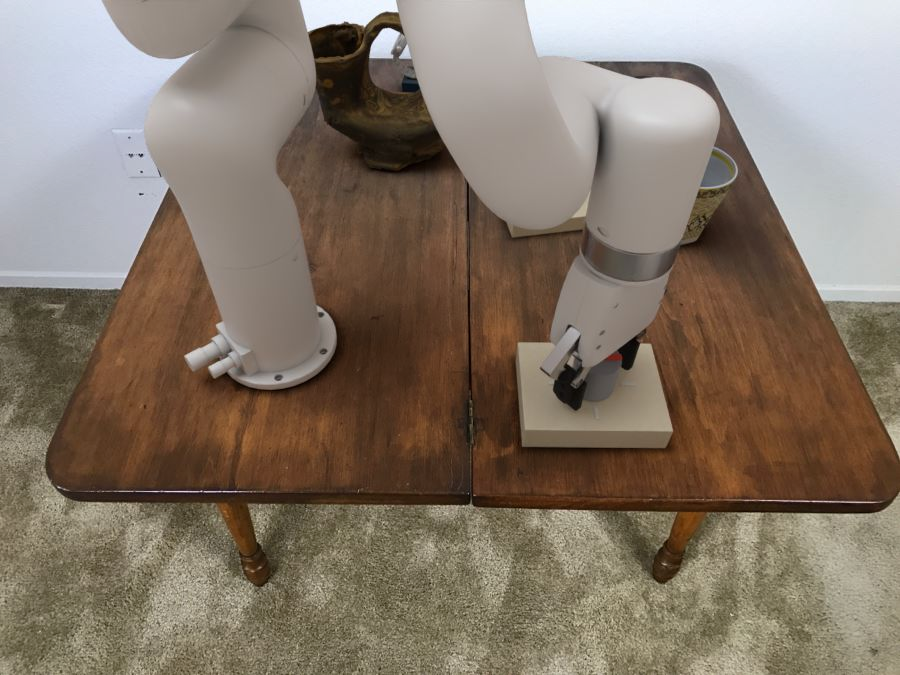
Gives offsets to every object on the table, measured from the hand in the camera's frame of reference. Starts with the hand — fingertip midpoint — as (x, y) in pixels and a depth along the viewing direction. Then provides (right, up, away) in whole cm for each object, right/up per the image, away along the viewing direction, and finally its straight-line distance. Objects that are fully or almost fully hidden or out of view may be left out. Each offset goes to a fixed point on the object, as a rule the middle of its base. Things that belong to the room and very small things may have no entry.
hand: (592, 379), depth 67 cm
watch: (-19, +44, +45) cm, 66 cm away
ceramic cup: (+16, +19, +23) cm, 33 cm away
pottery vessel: (-21, +31, +33) cm, 50 cm away
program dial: (0, 0, +1) cm, 1 cm away
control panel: (0, -2, +3) cm, 4 cm away
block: (-1, +21, +24) cm, 32 cm away
